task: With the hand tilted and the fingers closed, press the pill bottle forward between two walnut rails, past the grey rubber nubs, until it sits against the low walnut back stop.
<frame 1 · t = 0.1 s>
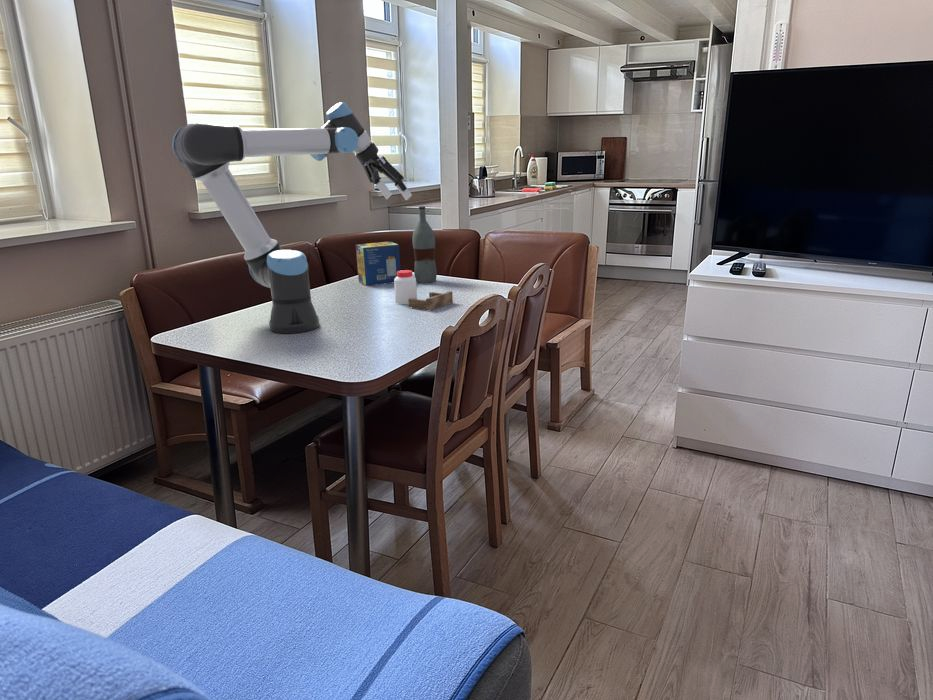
hand: (398, 197, 231), 36 cm above the table, tool tilted 35°, fingers open, 13 cm apart
grey-green bottle: (426, 282, 267), on the table
pill bottle: (406, 302, 233), on the table
protein box: (379, 282, 271), on the table
dock: (428, 305, 228), on the table
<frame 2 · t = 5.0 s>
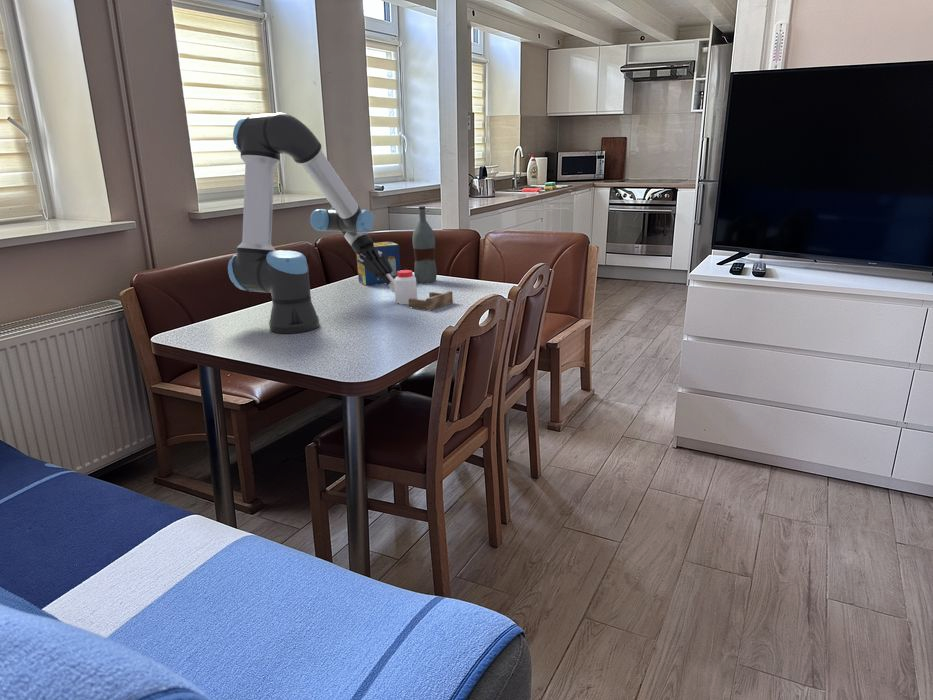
hand: (396, 289, 236), 4 cm above the table, tool tilted 45°, fingers closed
pill bottle: (406, 302, 233), on the table, touching gripper
everything else where it was.
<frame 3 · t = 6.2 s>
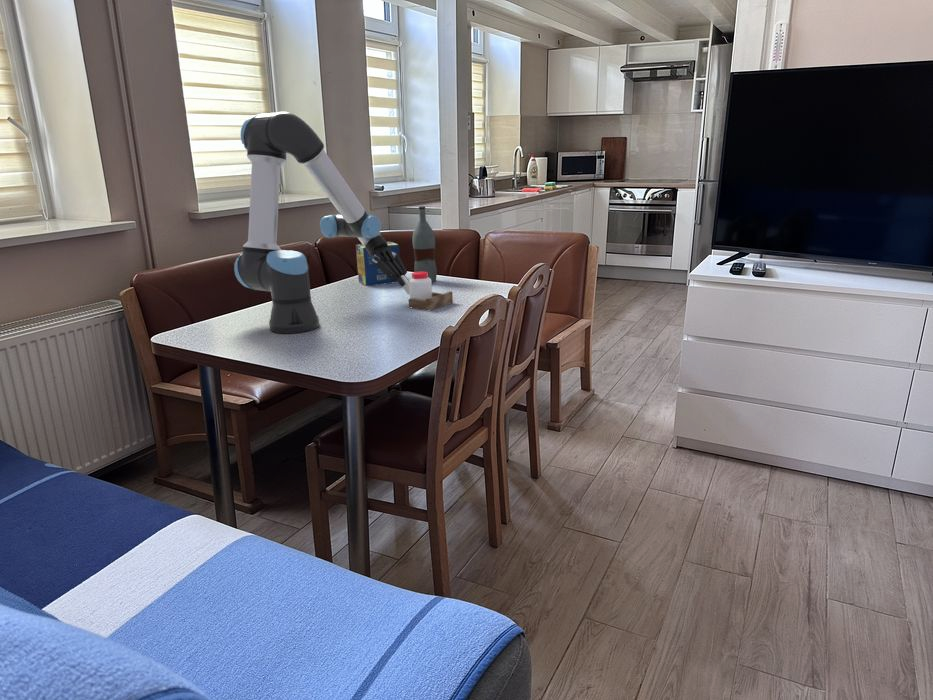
hand: (411, 291, 232), 4 cm above the table, tool tilted 45°, fingers closed
pill bottle: (421, 304, 229), on the table, touching gripper
everything else where it was.
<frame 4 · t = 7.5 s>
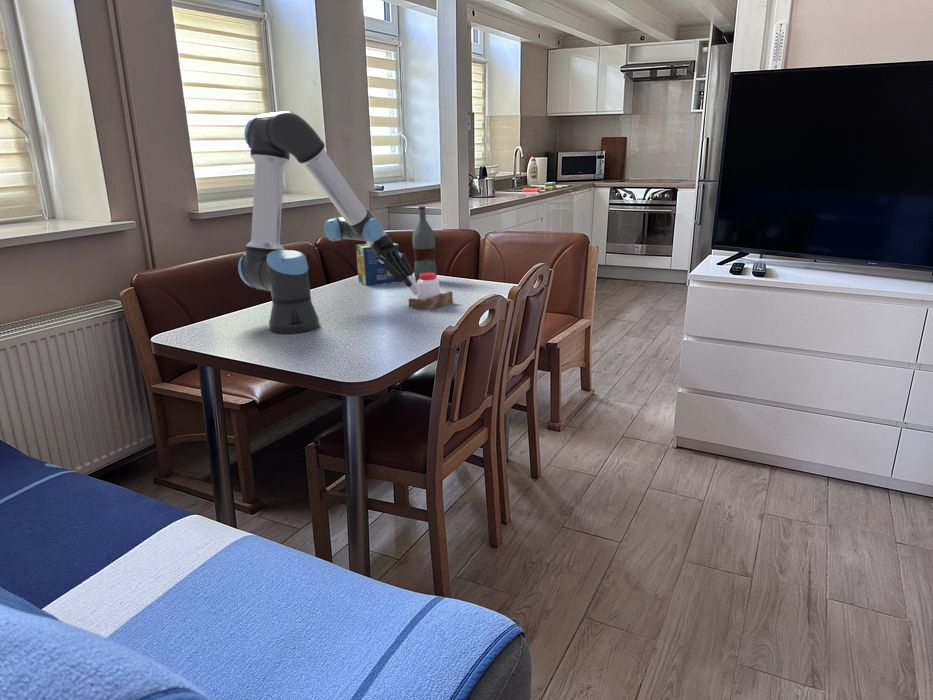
hand: (418, 292, 229), 4 cm above the table, tool tilted 45°, fingers closed
pill bottle: (429, 306, 227), on the table, touching dock, gripper
everything else where it was.
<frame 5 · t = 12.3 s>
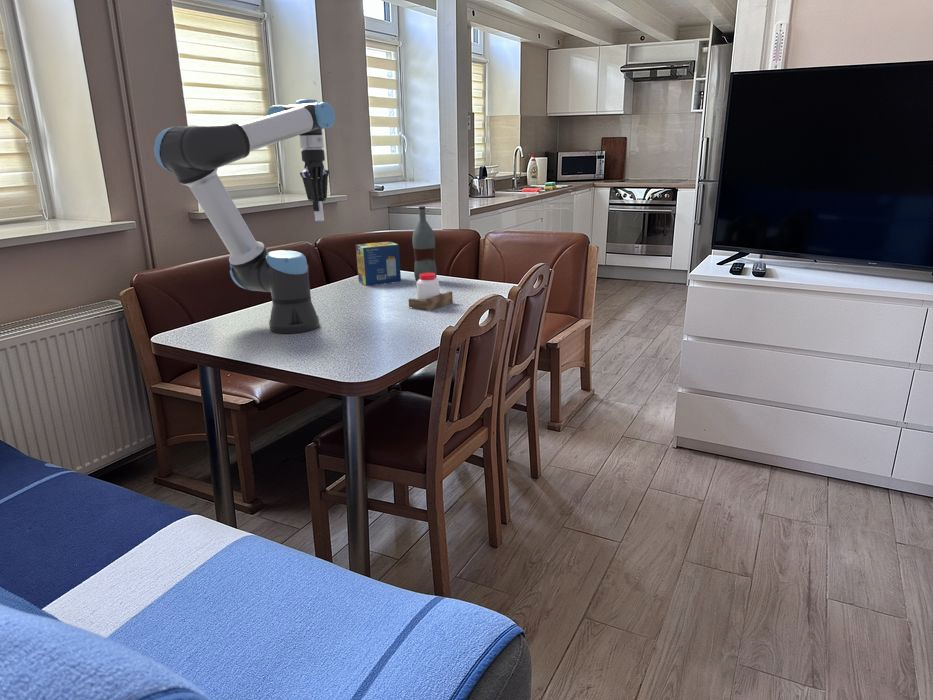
hand: (319, 220, 226), 29 cm above the table, tool pointing down, fingers closed
pill bottle: (429, 306, 227), on the table
everything else where it was.
at the end: pill bottle 0.8 cm off-centre on the dock, point 0.0 cm above the dock's base; pill bottle tilted 0°; pill bottle moved 10.7 cm from its start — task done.
